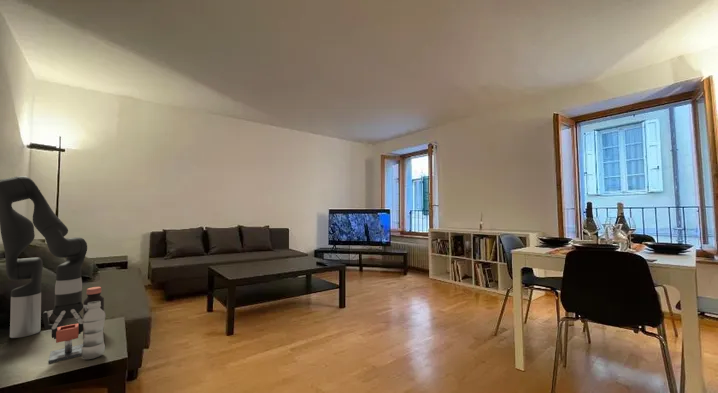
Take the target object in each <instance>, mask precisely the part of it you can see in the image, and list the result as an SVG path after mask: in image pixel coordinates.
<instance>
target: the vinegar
mask: <svg viewBox="0 0 718 393" xmlns="http://www.w3.org/2000/svg"><path fill="white" fill-rule="evenodd" d="M101 294H102V287H101V286H93V287H89V288H86V296H87V297H86V298H85V299H84V300H83V305H88V303H89V302H94V301H101V307H100V308H101V309H102V310H103V311H104V312H105V308H104V307H105V299H104V297H103V296H102V295H101ZM82 310H83V313H82V314H83V316H84V315H85V313H86V312H87V311H85V308H83V309H82ZM104 328H105V327H104ZM104 328H103V332H104V331H105V330H104ZM82 336H83V337H84V328H83V332H82Z"/></svg>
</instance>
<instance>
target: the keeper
mask: <svg viewBox="0 0 718 393" xmlns="http://www.w3.org/2000/svg"><path fill="white" fill-rule="evenodd" d="M82 347H83V343H81V344H77V345H73V339H72V340H67V341H64V348H60V349H55V350H51V351H50V353H49V357H48V360H47V362H48V363H47V364H48V365H49V364H53V363H56V362H60V361H65V360H69V359H74V358H77V357H82V355H81V351H82Z"/></svg>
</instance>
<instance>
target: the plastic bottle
mask: <svg viewBox="0 0 718 393" xmlns="http://www.w3.org/2000/svg"><path fill="white" fill-rule="evenodd" d="M100 307H101V301H94V302H89V303H88V307H87V309H88V311H87V312H86V313H85V315H84V316H83V317H82V322H83V328H84V336H83V343H82V344H83V347H82V351H81V355H82V356H81V358H82V359H83V360H92V359H96V358H99V357H101V356H103V354H104V353H105V350H106V345H105V341H104V340H105V339H104V331H103V328H105V327H104V326H105V321H106V315H107V314H106V311H105V310H104V311H103V310H102V309H101V308H100Z"/></svg>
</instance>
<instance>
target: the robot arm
mask: <svg viewBox="0 0 718 393" xmlns="http://www.w3.org/2000/svg"><path fill="white" fill-rule="evenodd" d="M25 200H30V201H32V203H33V213H32V221H31V220H30V219H29V218H27V217H26V216H24V215H23V214H21V213H19V212H18V211H16V209H14V208H13V207H12V204H13V203H17V202H21V201H25ZM35 229H36V230H37V231H38V232H39V233H40V234H41V236H42V237H43V238H44V239H45V242H46V245H47V247H48V248H47V249H48V250H49V252H50V253H51V255H53V256H54V257H57V258H60V259H61V258H62V259H63V258H66V260H65V261H64V262H63V263H60V264H59V265H57V266H56V271H55V274H56V276H55V286H54V308H53V309H52V310H48V311H47V310H45V311H43V313H42V278H43V268H44V265H43V259H42V258H41V257H37V256H36V257H26V258H18V257H19V256H20V255H21V253H22V252H23V251H24V250H26V249H27V248H28V247H29V246H30V245H31V244H32V242H33V241H34V239H35V235H36V234H35ZM68 232H69V229H68V227H67V226H66V225H65V223H64V222H63V221H62V220H61V219H60V218H59V217H58V215H56V214H55V212H54V211H53V209H52V207H51V206H50V205H49V203H48V201H47V200H46V198H45V196H44V195H43V193H42V192H41V189H39V187H38V186H37V184H36V183H35V182H34V181H33V179H31V177H29V176H27V175H18V176H14V177H8V178H3V179H2V178H1V179H0V236H1V239H2V244H3V249H4V256H5V257H4V258H5V273H6V277H7V278H8V280H10V281H21V280H30V282H27V283H26V284H24V285H21V286H18V287H16V288H13V289H12V290H11V291H10V313H9V314H10V316H9V317H10V318H9V322H10V323H9V325H10V326H9V338H11V339H16V338H24V337H29V336H32V335H36V334H38V333H40V332H41V326H42V325H41V322H42V321H43V324H44V325H43V327H44V329H46V330H47V329H49V330H51V338H52V339H53V340H56V331H57V327H58V325H59V323H60V322H61V321H62V320H66V319H74V318H75V320H76V321H77V322H78V323H79V324H78V326H79V333H78V334H79V335H81V333H83V322H82V319H83V317H82V316H81V314H80V312H81V311H82V310H83V309H84V308H85V311H88V309H87V307H88V305H84V303H83V279H82V267H83V263H84V262H85V261H84V260H85V258H86V255H87V251H88V243H87V241H86V240H85V239H84V238H83V237H80V236H79V237H66V238H65V236H67V234H68ZM52 314H53V315H55V317H56V319H55V321H54V322H53V323H51V322H50V317H51V315H52ZM41 317H42V318H41ZM41 320H42V321H41Z"/></svg>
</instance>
